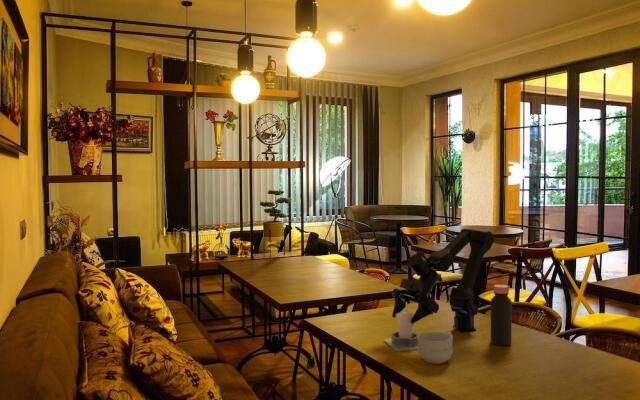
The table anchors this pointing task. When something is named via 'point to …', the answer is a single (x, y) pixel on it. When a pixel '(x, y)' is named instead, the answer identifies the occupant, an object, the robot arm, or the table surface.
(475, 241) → the robot arm
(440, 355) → the teacup
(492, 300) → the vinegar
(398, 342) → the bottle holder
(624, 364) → the table surface
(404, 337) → the smoothie
